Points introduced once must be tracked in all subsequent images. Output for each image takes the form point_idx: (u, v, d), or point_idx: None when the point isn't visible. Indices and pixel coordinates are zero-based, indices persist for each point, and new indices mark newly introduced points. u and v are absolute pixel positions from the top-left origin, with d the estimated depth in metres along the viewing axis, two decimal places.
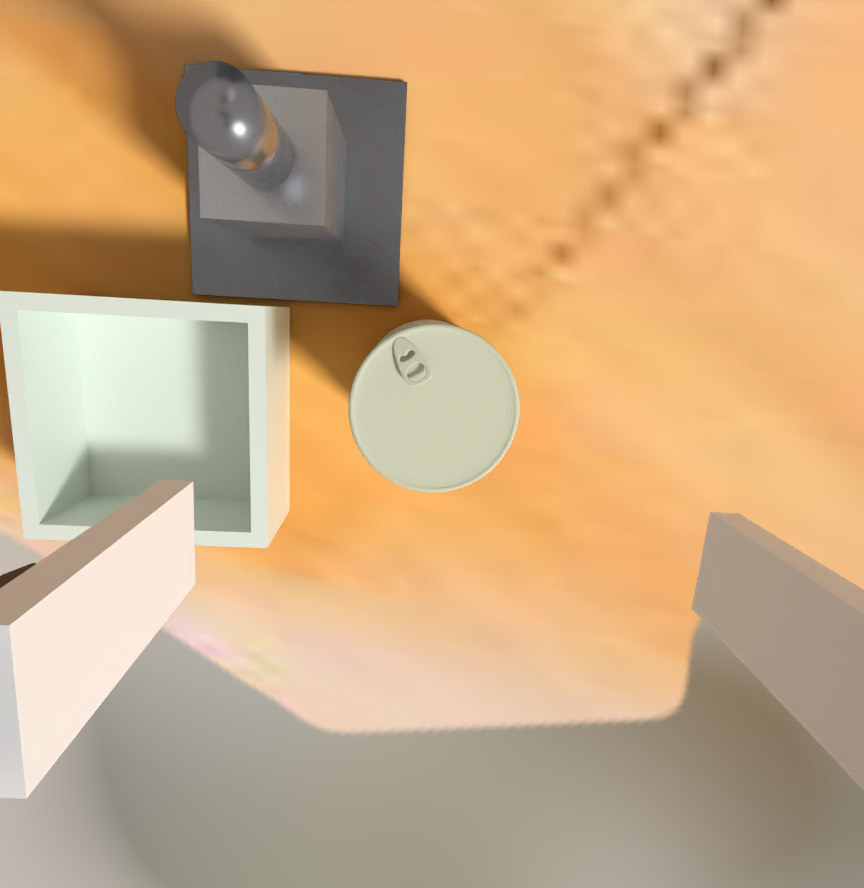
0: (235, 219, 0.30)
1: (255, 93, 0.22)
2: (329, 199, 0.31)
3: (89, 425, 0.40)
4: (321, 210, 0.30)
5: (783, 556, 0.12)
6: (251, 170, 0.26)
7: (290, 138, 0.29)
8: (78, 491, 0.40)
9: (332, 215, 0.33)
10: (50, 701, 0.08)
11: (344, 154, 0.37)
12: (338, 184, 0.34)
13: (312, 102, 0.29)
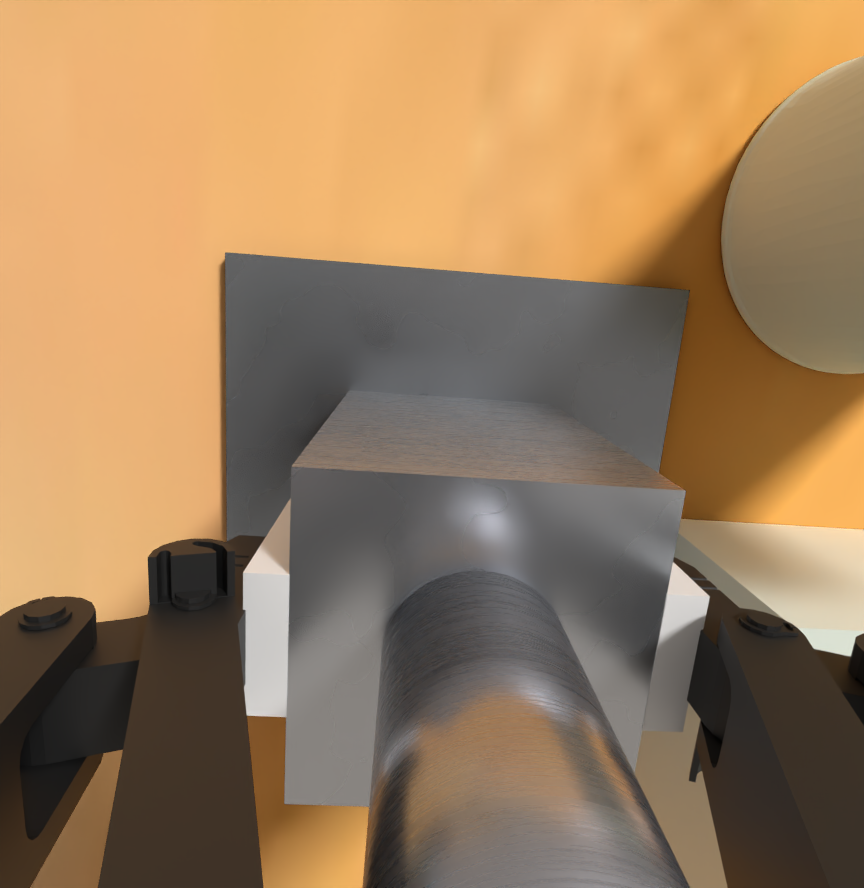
0: (638, 730, 0.10)
1: None
2: (562, 459, 0.11)
3: None
4: (639, 498, 0.09)
5: None
6: None
7: (430, 578, 0.09)
8: None
9: (575, 445, 0.12)
10: None
11: (377, 395, 0.17)
12: (465, 417, 0.14)
13: (328, 510, 0.09)
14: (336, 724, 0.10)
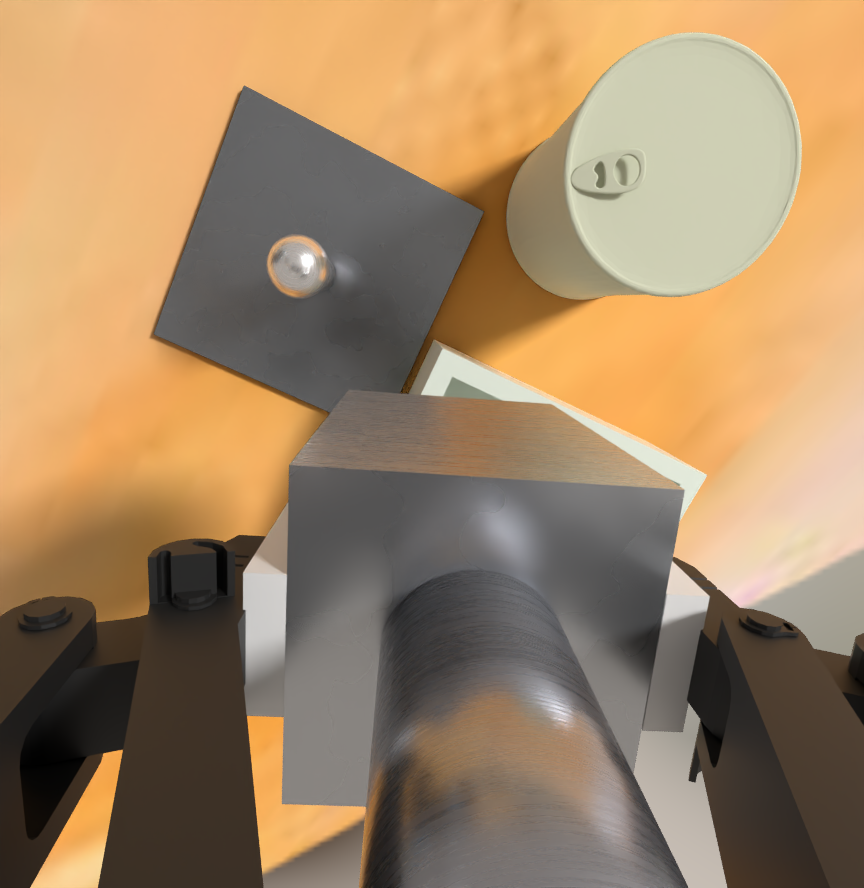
0: (637, 730, 0.10)
1: None
2: (561, 458, 0.11)
3: None
4: (638, 497, 0.09)
5: None
6: None
7: (428, 577, 0.09)
8: None
9: (574, 444, 0.12)
10: None
11: (377, 395, 0.17)
12: (464, 417, 0.14)
13: (326, 509, 0.09)
14: (334, 724, 0.10)
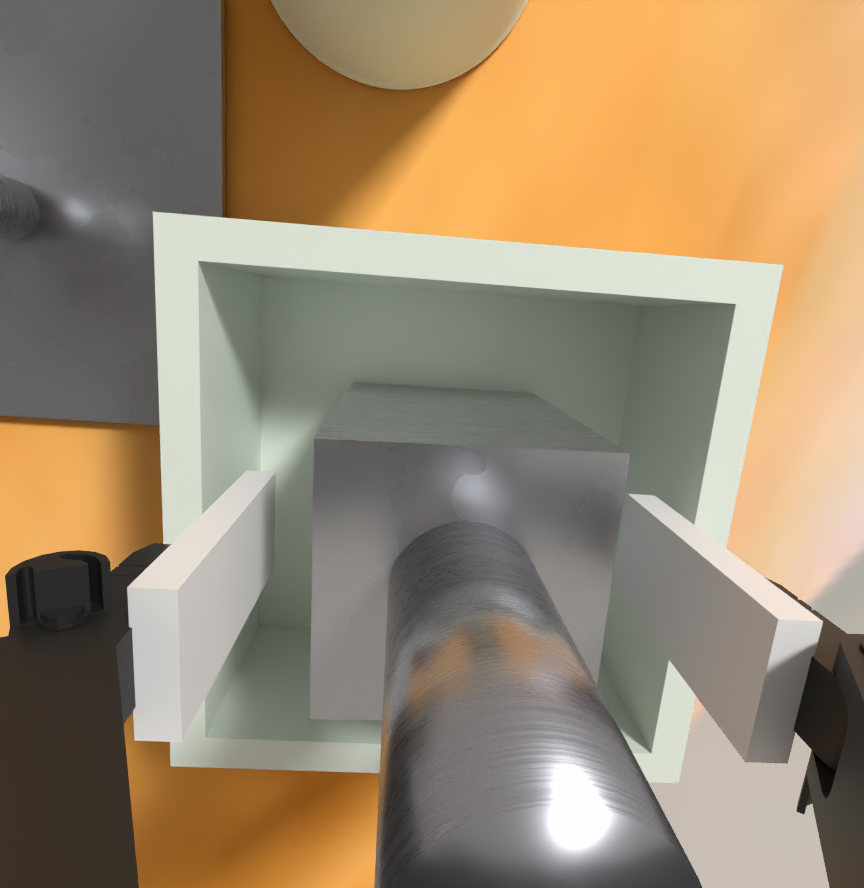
0: (598, 653, 0.13)
1: (488, 809, 0.05)
2: (534, 432, 0.13)
3: None
4: (593, 460, 0.12)
5: (678, 531, 0.13)
6: None
7: (426, 528, 0.12)
8: None
9: (546, 423, 0.15)
10: (195, 659, 0.10)
11: (377, 387, 0.19)
12: (454, 403, 0.17)
13: (343, 473, 0.11)
14: (351, 651, 0.12)
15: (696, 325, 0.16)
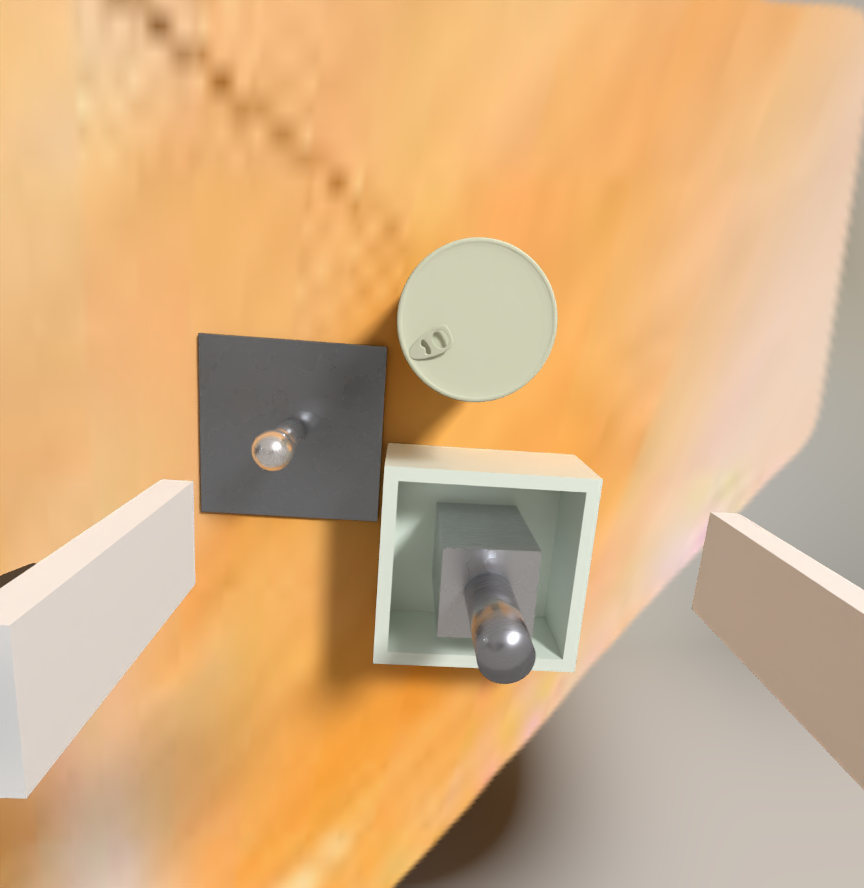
0: (533, 615, 0.38)
1: (496, 632, 0.30)
2: (512, 540, 0.39)
3: None
4: (530, 553, 0.37)
5: (783, 556, 0.12)
6: None
7: (477, 574, 0.37)
8: (540, 626, 0.47)
9: (518, 533, 0.40)
10: (50, 701, 0.08)
11: (449, 505, 0.45)
12: (483, 519, 0.42)
13: (452, 558, 0.37)
14: (452, 614, 0.38)
15: (578, 492, 0.41)
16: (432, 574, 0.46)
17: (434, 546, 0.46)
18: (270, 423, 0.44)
